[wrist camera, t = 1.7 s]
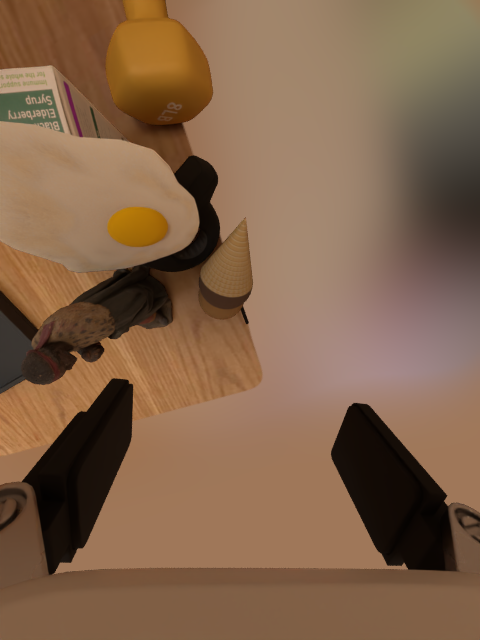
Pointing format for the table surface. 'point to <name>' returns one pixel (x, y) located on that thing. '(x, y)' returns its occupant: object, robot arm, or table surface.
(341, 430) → the robot arm
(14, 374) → the tray
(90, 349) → the figurine
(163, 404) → the table surface
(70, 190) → the cracked egg
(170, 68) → the dumbbell
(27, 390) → the table surface
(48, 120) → the syrup box
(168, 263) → the controller
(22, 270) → the table surface
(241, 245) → the ice cream cone
